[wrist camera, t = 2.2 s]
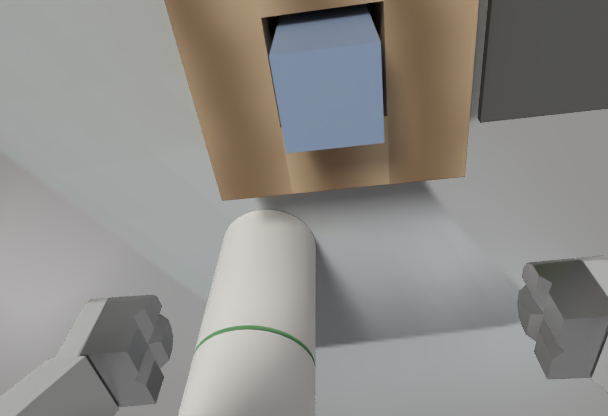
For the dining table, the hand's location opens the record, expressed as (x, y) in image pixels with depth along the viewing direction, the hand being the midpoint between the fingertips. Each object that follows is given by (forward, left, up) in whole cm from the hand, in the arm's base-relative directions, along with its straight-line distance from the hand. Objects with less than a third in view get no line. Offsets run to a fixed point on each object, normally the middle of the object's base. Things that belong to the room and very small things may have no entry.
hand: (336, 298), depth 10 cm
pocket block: (0, 0, -20) cm, 20 cm away
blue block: (0, 0, -20) cm, 20 cm away
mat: (-14, +1, -20) cm, 24 cm away
